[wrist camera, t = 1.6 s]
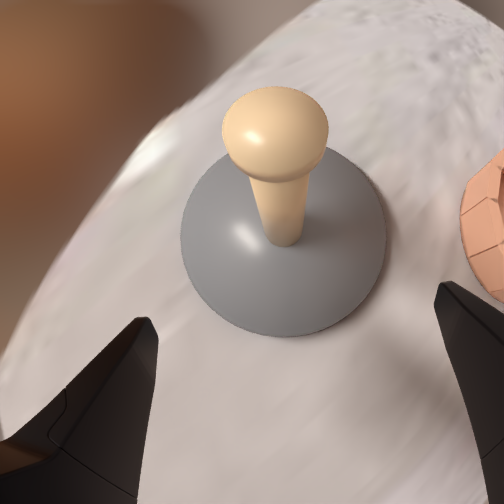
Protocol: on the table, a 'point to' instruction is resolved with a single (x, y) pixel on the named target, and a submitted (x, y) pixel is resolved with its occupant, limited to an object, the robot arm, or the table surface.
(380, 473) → the table surface
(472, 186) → the bowl
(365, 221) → the cover
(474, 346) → the robot arm
